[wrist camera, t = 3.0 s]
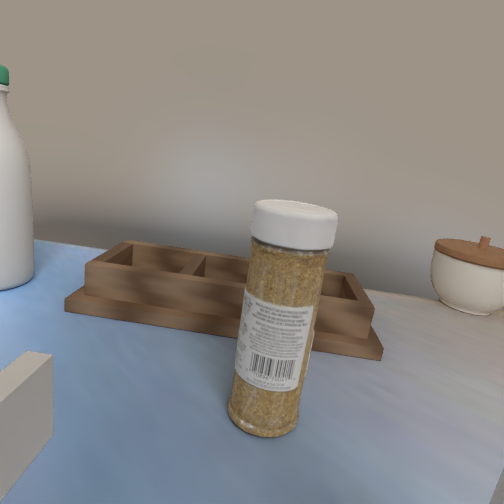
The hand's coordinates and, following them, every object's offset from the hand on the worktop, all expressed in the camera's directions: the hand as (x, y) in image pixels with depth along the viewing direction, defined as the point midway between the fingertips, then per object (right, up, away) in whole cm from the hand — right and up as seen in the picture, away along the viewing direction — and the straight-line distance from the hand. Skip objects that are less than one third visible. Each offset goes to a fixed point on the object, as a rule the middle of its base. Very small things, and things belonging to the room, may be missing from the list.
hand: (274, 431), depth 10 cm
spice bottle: (0, -5, +13) cm, 14 cm away
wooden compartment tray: (-3, -1, +27) cm, 28 cm away
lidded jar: (+27, -2, +38) cm, 47 cm away
